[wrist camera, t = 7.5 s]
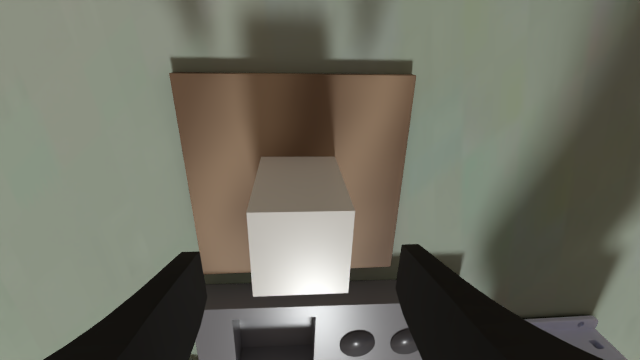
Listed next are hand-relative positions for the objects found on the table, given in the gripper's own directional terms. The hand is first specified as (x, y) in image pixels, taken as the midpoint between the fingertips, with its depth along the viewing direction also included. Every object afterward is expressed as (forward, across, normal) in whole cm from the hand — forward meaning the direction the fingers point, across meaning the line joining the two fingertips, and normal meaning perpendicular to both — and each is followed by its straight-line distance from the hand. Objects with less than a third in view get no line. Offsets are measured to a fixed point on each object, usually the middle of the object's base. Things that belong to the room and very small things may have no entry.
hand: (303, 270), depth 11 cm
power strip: (+8, -2, +11) cm, 14 cm away
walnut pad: (+8, 0, 0) cm, 8 cm away
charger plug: (+7, 0, 0) cm, 7 cm away
